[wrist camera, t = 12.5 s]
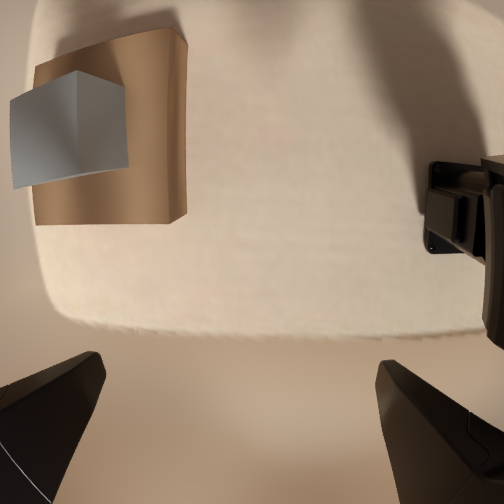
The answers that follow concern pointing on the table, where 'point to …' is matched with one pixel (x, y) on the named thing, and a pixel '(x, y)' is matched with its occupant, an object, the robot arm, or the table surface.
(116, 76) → the block
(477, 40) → the table surface
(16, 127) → the slate cube
